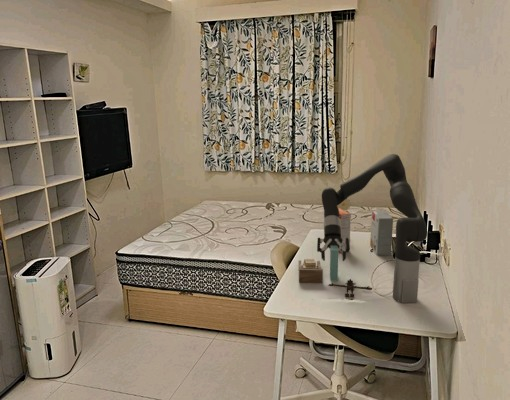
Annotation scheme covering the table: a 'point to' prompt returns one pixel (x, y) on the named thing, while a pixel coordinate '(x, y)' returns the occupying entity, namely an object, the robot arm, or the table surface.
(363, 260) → the table surface
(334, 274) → the teal board
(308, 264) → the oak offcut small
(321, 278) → the walnut rack
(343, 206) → the flower in vase
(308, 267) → the oak offcut large
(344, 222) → the cracker box
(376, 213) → the hard drive box
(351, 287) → the long-limbed plush toy
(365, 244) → the table surface
